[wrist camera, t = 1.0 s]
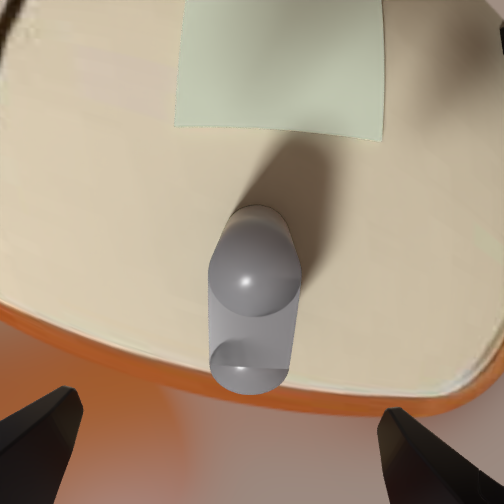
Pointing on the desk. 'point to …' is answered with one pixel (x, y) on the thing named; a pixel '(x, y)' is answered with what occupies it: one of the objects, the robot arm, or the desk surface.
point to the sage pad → (283, 66)
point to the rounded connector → (253, 301)
